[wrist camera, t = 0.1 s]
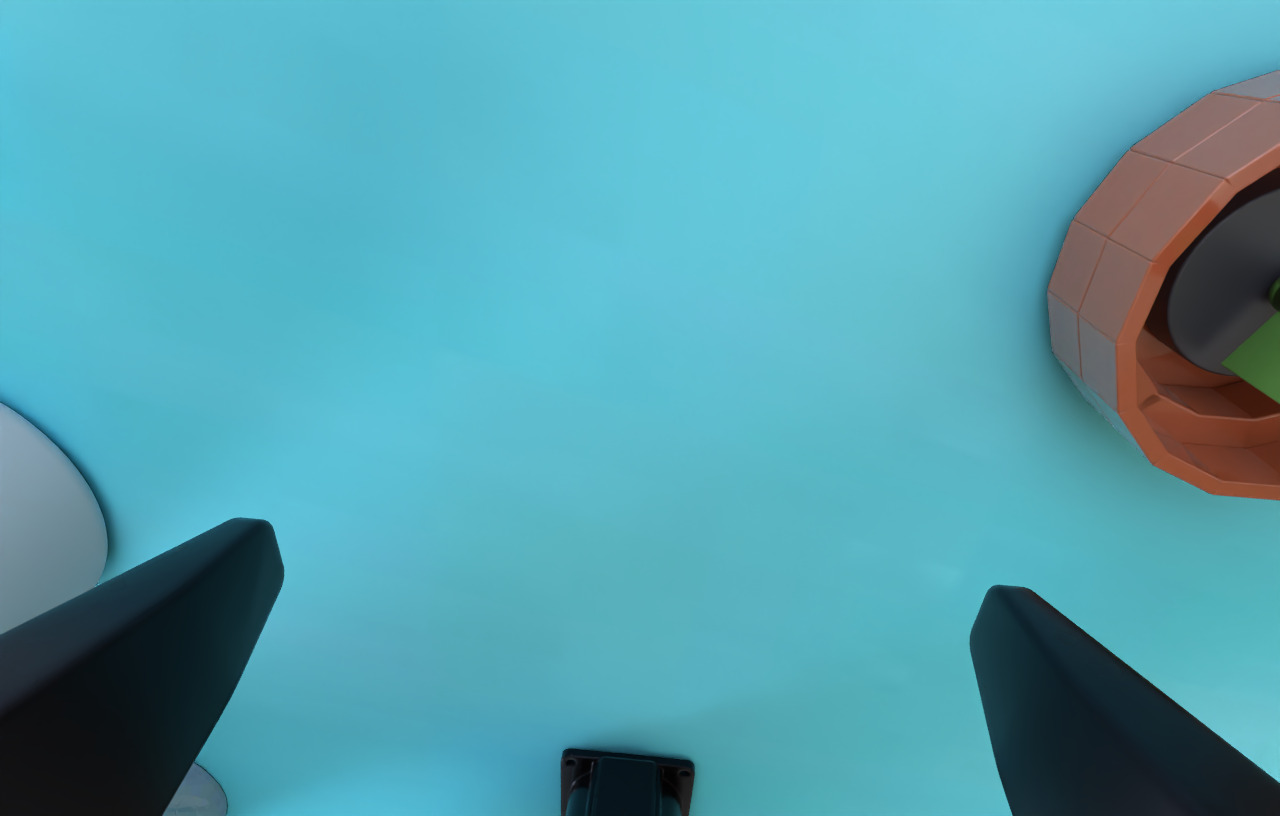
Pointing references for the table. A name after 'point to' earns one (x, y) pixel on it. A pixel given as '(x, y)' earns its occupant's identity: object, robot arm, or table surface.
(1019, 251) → the table surface
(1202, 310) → the tulip
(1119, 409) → the bowl
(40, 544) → the cylinder vase
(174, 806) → the grey cup
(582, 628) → the table surface
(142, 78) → the table surface
